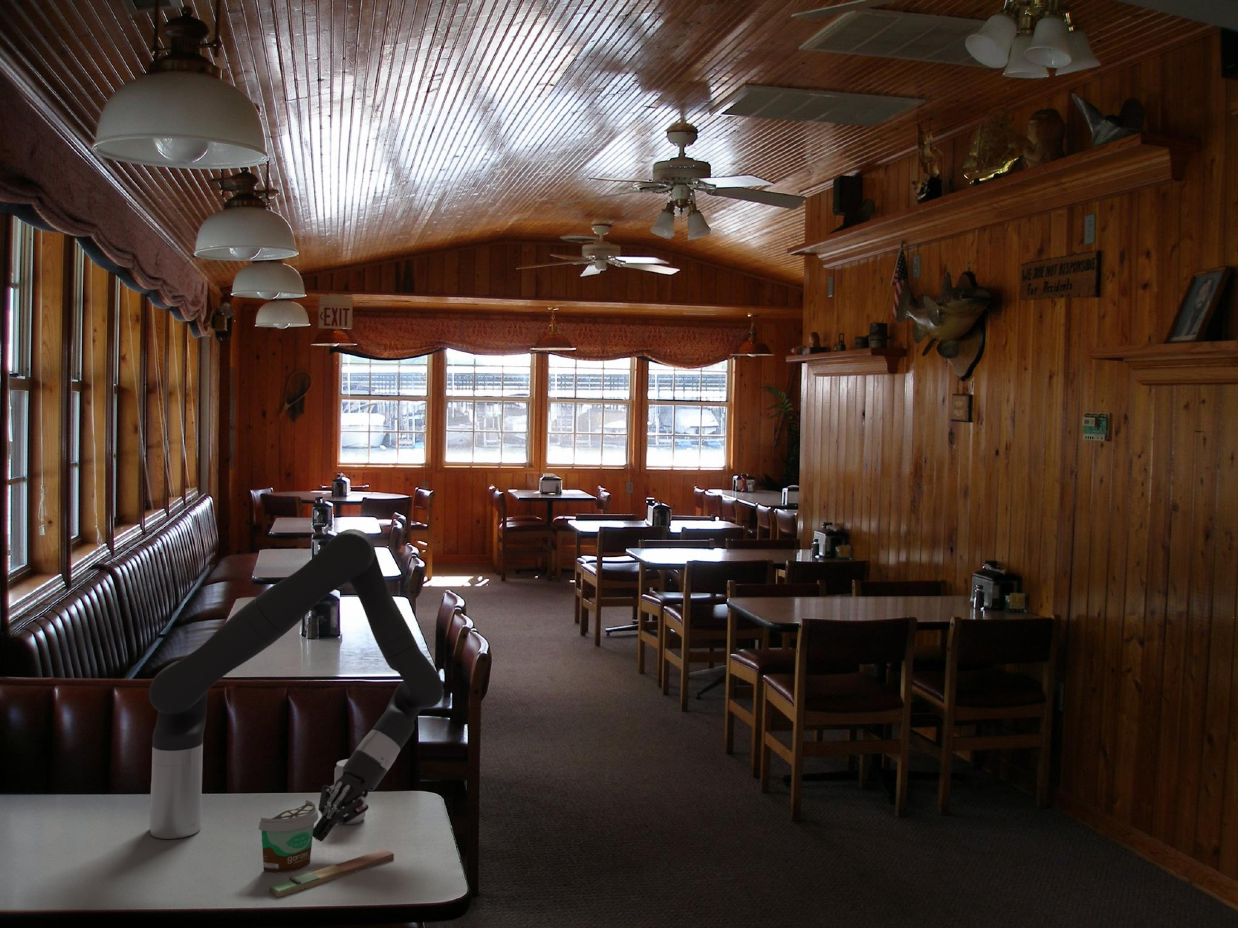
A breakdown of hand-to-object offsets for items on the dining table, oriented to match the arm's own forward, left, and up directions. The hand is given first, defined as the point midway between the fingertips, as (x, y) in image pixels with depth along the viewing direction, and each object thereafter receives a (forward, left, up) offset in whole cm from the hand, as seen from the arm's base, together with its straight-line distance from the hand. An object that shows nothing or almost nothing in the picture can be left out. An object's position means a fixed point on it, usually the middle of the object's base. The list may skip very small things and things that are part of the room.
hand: (316, 838), depth 199 cm
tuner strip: (+9, -2, -4) cm, 10 cm away
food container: (0, -4, -4) cm, 6 cm away
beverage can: (-13, +16, -4) cm, 21 cm away
